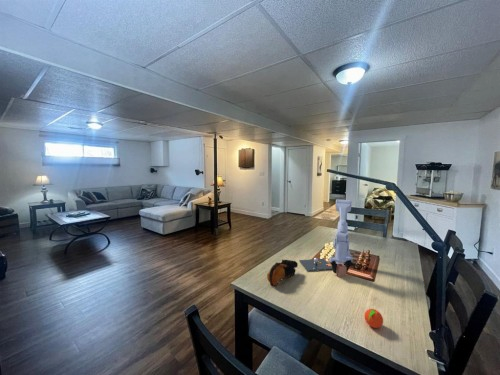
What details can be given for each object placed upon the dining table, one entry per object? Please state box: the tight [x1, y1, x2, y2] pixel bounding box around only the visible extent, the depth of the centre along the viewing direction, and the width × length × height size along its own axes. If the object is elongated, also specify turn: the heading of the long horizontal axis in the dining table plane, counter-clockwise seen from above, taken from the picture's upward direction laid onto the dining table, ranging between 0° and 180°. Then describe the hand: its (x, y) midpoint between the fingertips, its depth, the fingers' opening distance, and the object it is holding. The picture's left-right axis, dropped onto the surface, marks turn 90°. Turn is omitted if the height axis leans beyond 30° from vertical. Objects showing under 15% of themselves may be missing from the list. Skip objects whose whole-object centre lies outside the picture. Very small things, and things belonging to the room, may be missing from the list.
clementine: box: [364, 308, 384, 329], centre depth 90 cm, size 8×7×7 cm
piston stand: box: [298, 257, 333, 272], centre depth 144 cm, size 18×14×5 cm
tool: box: [266, 259, 299, 287], centre depth 128 cm, size 8×23×15 cm, turn 134°
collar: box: [334, 263, 347, 278], centre depth 133 cm, size 5×5×6 cm
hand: (340, 272), depth 133 cm, fingers open, 7 cm apart
